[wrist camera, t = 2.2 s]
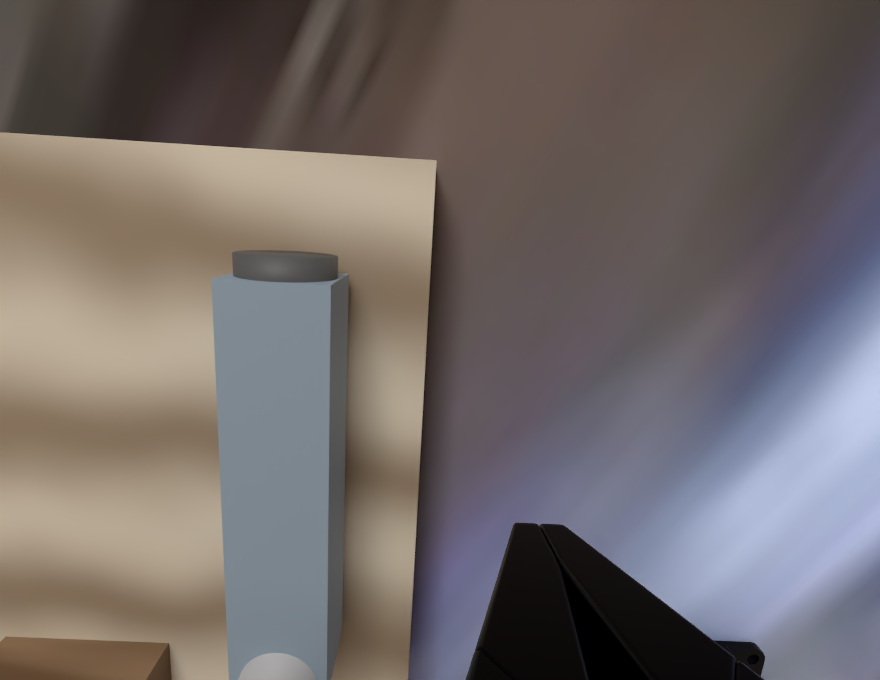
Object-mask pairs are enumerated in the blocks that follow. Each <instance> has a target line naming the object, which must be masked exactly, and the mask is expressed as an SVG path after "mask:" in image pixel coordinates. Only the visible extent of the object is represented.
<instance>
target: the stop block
mask: <svg viewBox="0 0 880 680" xmlns="http://www.w3.org/2000/svg"><path fill="white" fill-rule="evenodd" d="M0 680H172V676H171V663H170V649H169V643H155V642H130V641H105V640H80V639H55V638H30V637H5V638H4V639H2V640H1V641H0Z"/></svg>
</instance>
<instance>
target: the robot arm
mask: <svg viewBox="0 0 880 680" xmlns="http://www.w3.org/2000/svg"><path fill="white" fill-rule="evenodd" d="M764 661H765V656H764V654H763V652H762V651H761V650H760V648H759V647H758V646H757V645H756V644H755V643H751V642H732V641H713V640H712V639H711V638H709V637H708V636H707V635H705V634H704V633H703V632H702V631H700V630H699V629H698V628H696V627H695V626H694V625H693V624H691V623H690V622H689V621H687V620H686V619H685V618H683V617H682V616H681V615H680V614H678V613H677V612H676V611H674V610H673V609H672V608H670V607H669V606H668V605H667V604H665V603H664V602H663V601H661V600H660V599H659V598H658V597H656V596H655V595H654V594H652V593H651V592H650V591H648V590H647V589H646V588H645V587H643V586H642V585H641V584H639V583H638V582H637V581H635V580H634V579H633V578H632V577H630V576H629V575H628V574H626V573H625V572H624V571H623V570H621V569H620V568H619V567H617V566H616V565H615V564H613V563H612V562H611V561H610V560H608V559H607V558H606V557H604V556H603V555H602V554H600V553H599V552H598V551H597V550H595V549H594V548H593V547H591V546H590V545H589V544H587V543H586V542H585V541H584V540H582V539H581V538H580V537H578V536H577V535H576V534H575V533H573V532H572V531H571V530H569V529H568V528H567V527H565V526H564V525H557V524H541V525H540V526H538V525H537V524H534V523H515V524H514V525H513V528H512V531H511V535H510V538H509V541H508V544H507V548H506V551H505V554H504V558H503V561H502V564H501V567H500V571H499V574H498V577H497V581H496V584H495V587H494V590H493V594H492V597H491V600H490V603H489V607H488V610H487V613H486V617H485V620H484V623H483V626H482V630H481V633H480V636H479V640H478V643H477V646H476V649H475V653H474V655H473V658H472V661H471V665H470V668H469V671H468V674H467V677H466V680H764V679H763V678H762V677H761V673H762V669H763V665H764Z"/></svg>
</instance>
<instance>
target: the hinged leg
mask: <svg viewBox="0 0 880 680" xmlns="http://www.w3.org/2000/svg"><path fill="white" fill-rule="evenodd" d="M232 264H233V273H230V274H226V275H223V276H219V277H215V278H211V281H212V304H213V327H214V349H215V372H216V395H217V418H218V441H219V464H220V486H221V509H222V532H223V555H224V578H225V601H226V623H227V646H228V669H229V680H331V678H332V673H333V669H334V664H335V660H336V655H337V651H338V647H339V642H340V638H341V633H342V620H343V565H344V510H345V455H346V401H347V346H348V291H349V274H341V273H338V256H336V255H332V254H325V253H316V252H302V251H282V250H245V251H235V252H232Z"/></svg>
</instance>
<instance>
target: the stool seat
mask: <svg viewBox="0 0 880 680" xmlns="http://www.w3.org/2000/svg"><path fill="white" fill-rule="evenodd" d="M436 161H437V160H421V159H406V158H390V157H374V156H359V155H343V154H328V153H312V152H297V151H281V150H265V149H250V148H234V147H219V146H203V145H187V144H172V143H156V142H141V141H125V140H110V139H94V138H78V137H63V136H47V135H32V134H16V133H0V641H1V640H2V639H4V638H5V637H30V638H55V639H80V640H105V641H130V642H155V643H169V649H170V663H171V676H172V680H229V669H228V646H227V623H226V601H225V578H224V555H223V532H222V509H221V486H220V464H219V441H218V418H217V395H216V372H215V349H214V327H213V304H212V281H211V278H215V277H219V276H223V275H226V274H230V273H233V264H232V252H235V251H245V250H282V251H302V252H316V253H325V254H332V255H336V256H338V273H341V274H349V291H348V346H347V401H346V455H345V510H344V565H343V620H342V633H341V638H340V642H339V647H338V651H337V655H336V660H335V664H334V669H333V673H332V678H331V680H408V671H409V653H410V635H411V617H412V599H413V581H414V562H415V544H416V526H417V508H418V490H419V472H420V453H421V435H422V417H423V399H424V381H425V362H426V344H427V326H428V308H429V290H430V272H431V253H432V235H433V217H434V199H435V181H436Z"/></svg>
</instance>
